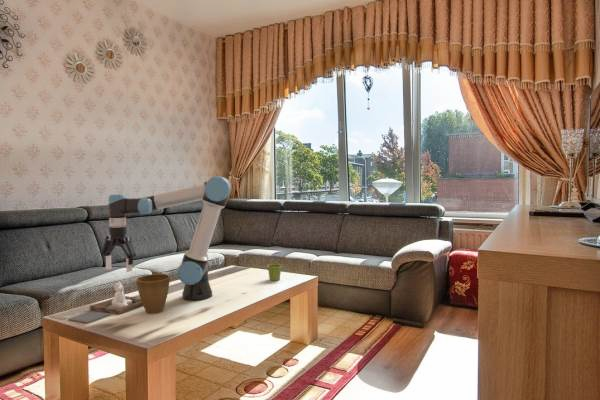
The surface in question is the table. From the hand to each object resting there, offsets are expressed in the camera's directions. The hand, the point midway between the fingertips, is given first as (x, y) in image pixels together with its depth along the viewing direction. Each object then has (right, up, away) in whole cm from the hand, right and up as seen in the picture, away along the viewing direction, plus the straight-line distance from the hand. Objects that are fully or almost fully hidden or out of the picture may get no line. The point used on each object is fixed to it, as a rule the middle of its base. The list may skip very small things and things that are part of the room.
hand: (118, 270), depth 204 cm
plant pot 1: (+20, -18, -8) cm, 28 cm away
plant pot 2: (+72, -14, +51) cm, 90 cm away
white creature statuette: (+1, -18, +1) cm, 18 cm away
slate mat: (-7, -19, -15) cm, 25 cm away
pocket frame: (+1, -18, +1) cm, 18 cm away
